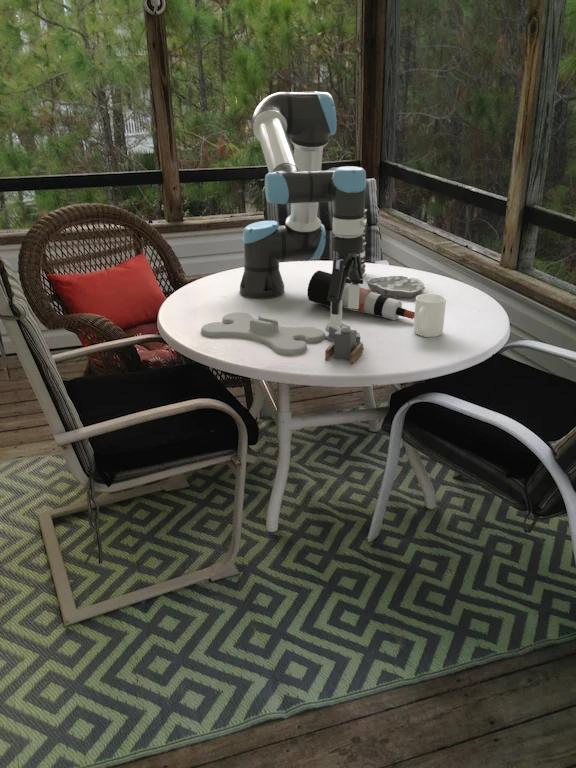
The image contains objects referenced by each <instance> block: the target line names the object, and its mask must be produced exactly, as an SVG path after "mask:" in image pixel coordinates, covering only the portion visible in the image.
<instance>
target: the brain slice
mask: <svg viewBox="0 0 576 768" xmlns="http://www.w3.org/2000/svg"><path fill="white" fill-rule="evenodd" d="M366 284H367V287H368V288H369V289H370V290H371V291H373V292H374V293H377V294H381V295H383V296H386V297H388V296H389V298H396V297H397V299H403V298H405V299H404V300H406V299H407V300H409V299H412V298H413V297H417V296H418V295H421V293H422V292H423V290H425V289H426V287H425V284H424V282H422V280H421V279H418V278H414V277H411V278H410V277H409V278H408V277H407V276H403V275H396V276H395V275H390V276H382V277H375V278H371V279H369V280H367V282H366Z"/></svg>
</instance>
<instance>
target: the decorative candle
mask: <svg viewBox="0 0 576 768" xmlns="http://www.w3.org/2000/svg"><path fill="white" fill-rule="evenodd" d="M367 211H368V209H367V208H365V210H364V222H366V225H365V226H364V229H363V233H362V236H363V249H362V251H360V258H361V266H362V274H363V277H365V276H366V273H365V272H366V262H367V261H366V258H367V257H366V250H365V249H366V244H367V239H366V237H368V234H367V232H368V231H369V230H368V229H367V227H368V226H369V224H368V220H367Z"/></svg>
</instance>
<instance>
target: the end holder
mask: <svg viewBox="0 0 576 768" xmlns="http://www.w3.org/2000/svg"><path fill="white" fill-rule="evenodd" d="M363 348H364V343H363V342H362V343H360V344H359V345H358V346H357V347H356V348H355V349H354V350H353V352H352V353H351V354H350V361H349V365H354V364H355V363H356V362H357V361H358V359H359V358H360V357H361V356H362V355H363V353H364V352H363V351H364V350H363ZM324 353H325V354H324V355H325V356H324V357H325V359H324V360H325V361H329V360H330V359H331V358H332V357H334V342H331V343H330V345H329V346H328V347H326V349H325V352H324Z"/></svg>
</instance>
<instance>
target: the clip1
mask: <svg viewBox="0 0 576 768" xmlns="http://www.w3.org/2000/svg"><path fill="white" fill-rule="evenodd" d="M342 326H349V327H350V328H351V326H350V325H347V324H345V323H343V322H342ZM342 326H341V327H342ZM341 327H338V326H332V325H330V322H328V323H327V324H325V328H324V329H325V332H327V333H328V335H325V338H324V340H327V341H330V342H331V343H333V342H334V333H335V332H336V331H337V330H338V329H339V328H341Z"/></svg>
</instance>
